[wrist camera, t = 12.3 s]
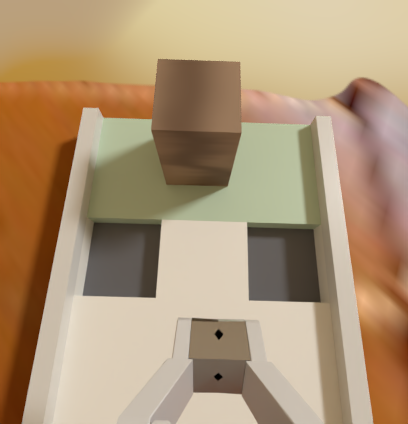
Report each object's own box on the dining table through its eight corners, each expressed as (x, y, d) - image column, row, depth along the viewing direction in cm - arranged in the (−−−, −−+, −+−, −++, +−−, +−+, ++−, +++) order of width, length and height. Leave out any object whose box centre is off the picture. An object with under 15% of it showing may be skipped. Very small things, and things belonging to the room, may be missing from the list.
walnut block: (227, 133, 28) (240, 61, 20) (227, 186, 26) (241, 132, 18) (170, 131, 28) (157, 59, 20) (166, 184, 26) (151, 129, 18)
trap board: (316, 136, 31) (330, 116, 27) (350, 431, 22) (377, 454, 19) (95, 128, 31) (83, 107, 27) (44, 424, 22) (17, 446, 19)
